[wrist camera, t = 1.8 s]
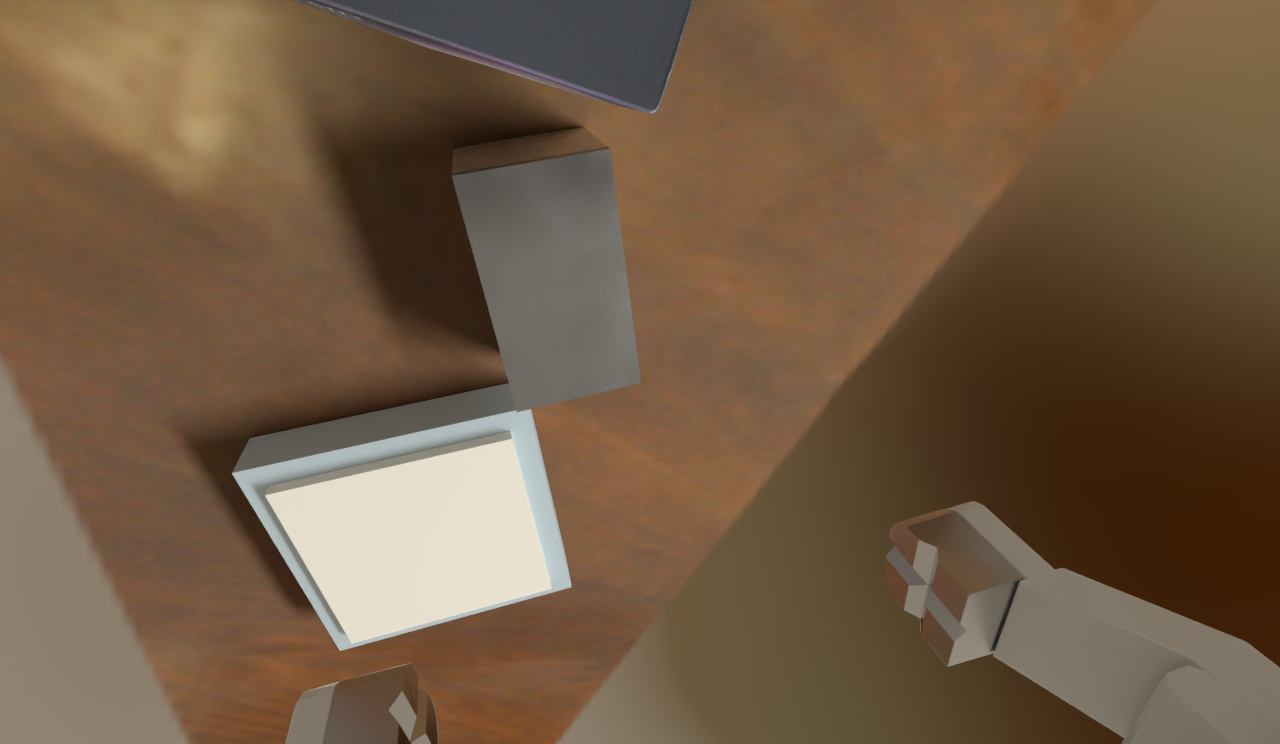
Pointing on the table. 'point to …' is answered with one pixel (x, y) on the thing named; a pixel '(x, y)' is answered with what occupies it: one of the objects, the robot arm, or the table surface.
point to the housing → (550, 263)
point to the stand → (410, 513)
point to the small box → (544, 39)
